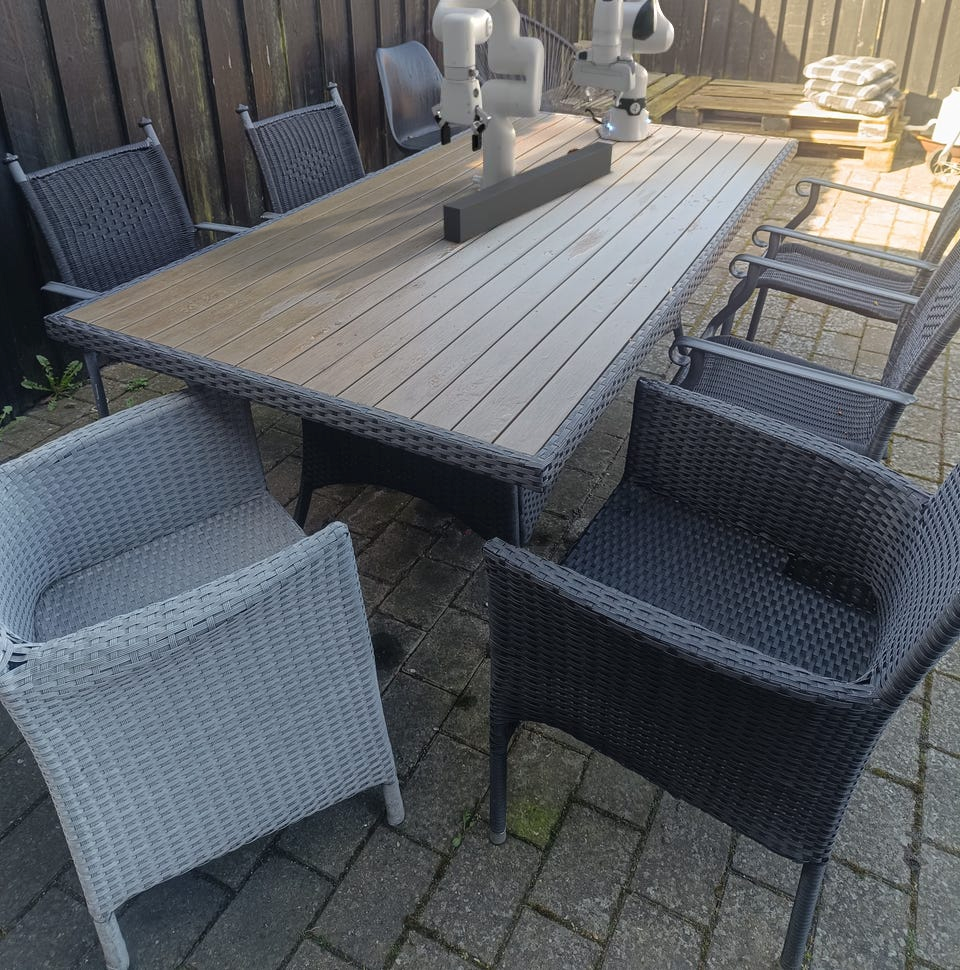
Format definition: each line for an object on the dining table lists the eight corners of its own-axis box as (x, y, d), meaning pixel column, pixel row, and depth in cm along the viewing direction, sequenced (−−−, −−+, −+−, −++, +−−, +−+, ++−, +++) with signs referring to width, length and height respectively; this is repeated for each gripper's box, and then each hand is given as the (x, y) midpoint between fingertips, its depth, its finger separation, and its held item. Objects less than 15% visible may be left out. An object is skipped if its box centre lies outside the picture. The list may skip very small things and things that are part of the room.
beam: (460, 242, 221) (460, 209, 216) (444, 238, 223) (443, 205, 218) (610, 172, 274) (612, 144, 269) (595, 169, 277) (597, 141, 272)
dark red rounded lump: (581, 144, 285) (589, 151, 279) (580, 157, 288) (588, 164, 281) (565, 146, 284) (573, 152, 278) (565, 159, 287) (572, 165, 280)
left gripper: (498, 74, 200) (498, 149, 210) (440, 65, 208) (443, 138, 218) (479, 80, 195) (480, 156, 205) (421, 71, 203) (425, 145, 213)
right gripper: (641, 56, 249) (636, 106, 257) (581, 49, 259) (578, 97, 267) (631, 60, 245) (627, 110, 253) (571, 52, 255) (568, 101, 263)
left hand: (461, 147), depth 212 cm, fingers open, 9 cm apart
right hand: (601, 103), depth 260 cm, fingers open, 8 cm apart
